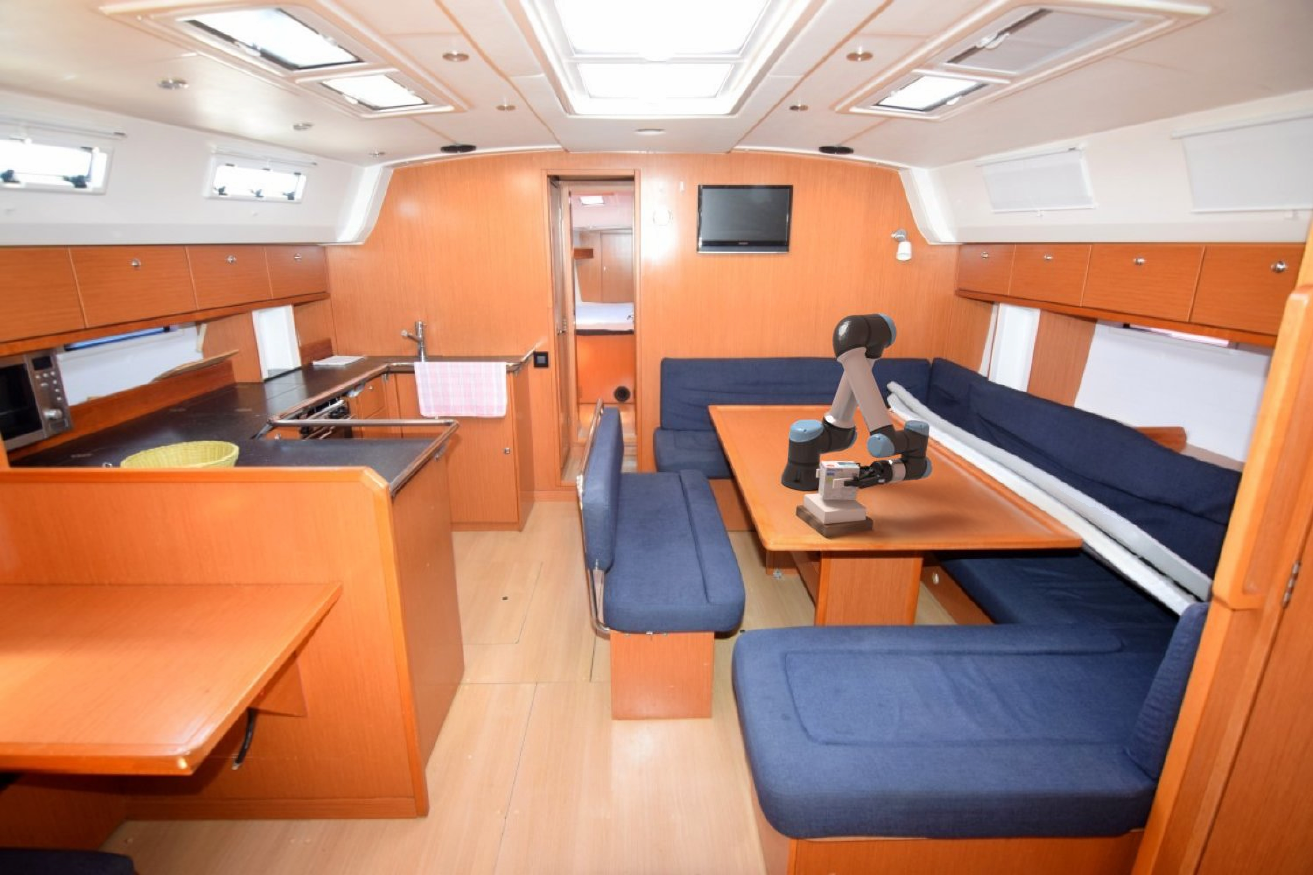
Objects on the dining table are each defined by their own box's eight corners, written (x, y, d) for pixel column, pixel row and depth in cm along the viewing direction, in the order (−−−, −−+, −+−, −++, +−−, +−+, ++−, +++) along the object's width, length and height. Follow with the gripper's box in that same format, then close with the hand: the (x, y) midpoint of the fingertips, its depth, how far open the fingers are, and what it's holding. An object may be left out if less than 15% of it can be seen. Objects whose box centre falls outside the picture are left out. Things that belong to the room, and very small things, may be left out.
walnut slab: (795, 517, 202) (796, 505, 201) (840, 510, 207) (841, 499, 206) (824, 539, 187) (825, 527, 185) (871, 532, 192) (873, 520, 191)
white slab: (803, 505, 201) (804, 494, 199) (842, 502, 204) (843, 491, 203) (824, 524, 188) (825, 511, 186) (865, 520, 191) (866, 508, 190)
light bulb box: (850, 492, 197) (854, 460, 194) (857, 500, 191) (861, 467, 188) (817, 491, 197) (820, 460, 194) (822, 500, 191) (826, 467, 187)
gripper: (907, 494, 189) (843, 502, 182) (864, 471, 208) (805, 477, 202) (910, 471, 187) (846, 479, 180) (867, 450, 206) (807, 456, 199)
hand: (825, 478), depth 191 cm, fingers closed on light bulb box, 9 cm apart
